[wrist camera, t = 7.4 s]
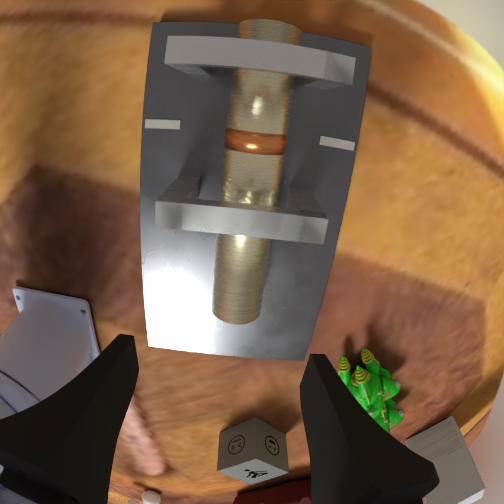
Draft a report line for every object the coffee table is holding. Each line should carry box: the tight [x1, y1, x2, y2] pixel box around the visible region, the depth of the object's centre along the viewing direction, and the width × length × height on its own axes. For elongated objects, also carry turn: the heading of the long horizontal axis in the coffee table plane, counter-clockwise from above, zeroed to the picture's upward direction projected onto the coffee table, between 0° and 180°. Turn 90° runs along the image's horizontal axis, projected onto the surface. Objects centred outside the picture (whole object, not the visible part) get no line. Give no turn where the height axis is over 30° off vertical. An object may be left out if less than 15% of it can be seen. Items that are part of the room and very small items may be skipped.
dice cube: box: [217, 417, 289, 485], centre depth 28 cm, size 5×5×5 cm
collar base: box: [140, 22, 371, 361], centre depth 17 cm, size 22×12×6 cm, turn 173°
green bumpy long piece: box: [338, 348, 404, 435], centre depth 26 cm, size 7×18×4 cm, turn 24°
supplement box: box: [406, 416, 486, 504], centre depth 28 cm, size 7×7×13 cm
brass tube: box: [211, 19, 301, 325], centre depth 16 cm, size 16×3×3 cm, turn 173°
